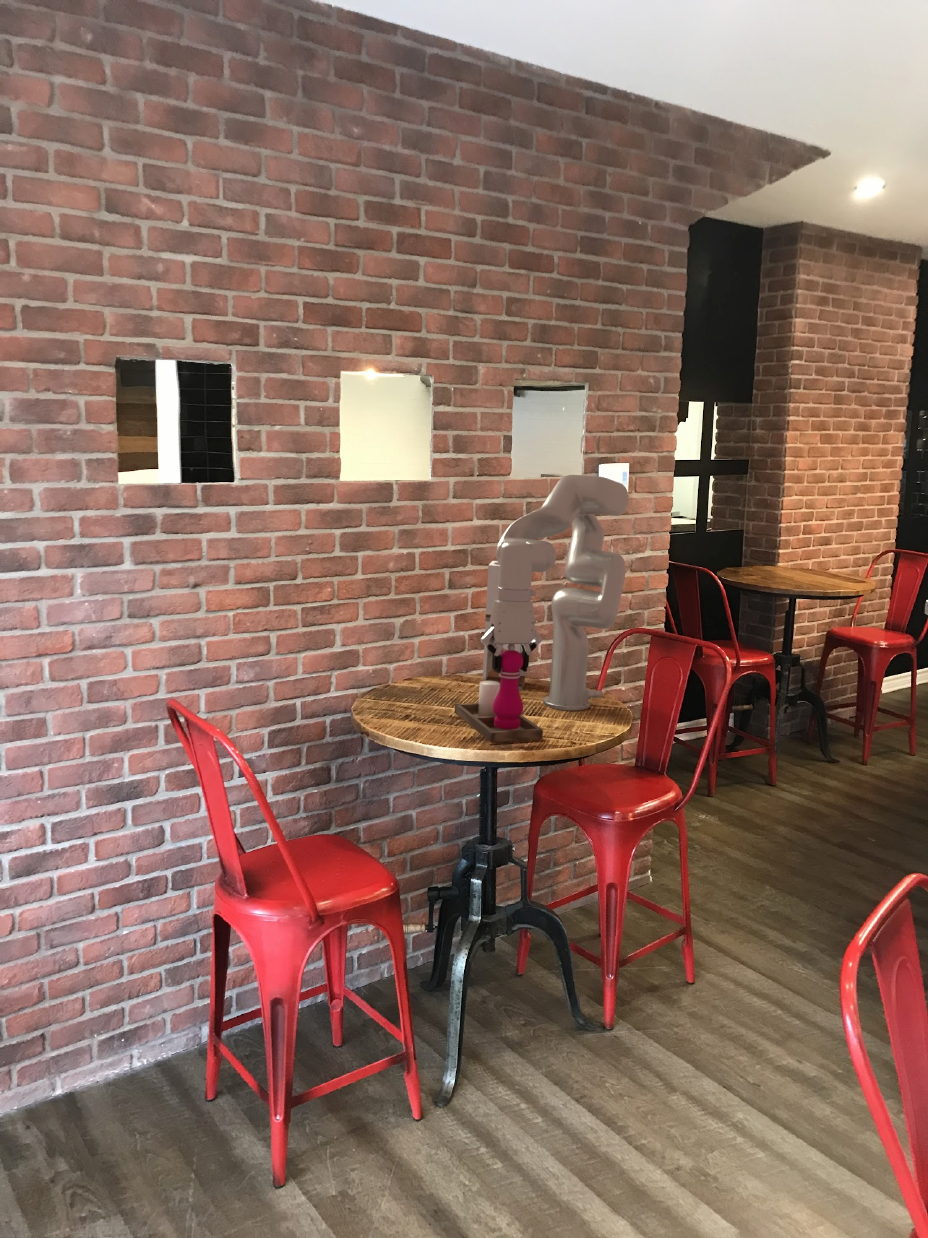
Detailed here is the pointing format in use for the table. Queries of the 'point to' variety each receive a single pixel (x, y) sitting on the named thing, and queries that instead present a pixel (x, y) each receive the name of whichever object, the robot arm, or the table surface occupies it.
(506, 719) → the pepper mill
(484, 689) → the salt shaker
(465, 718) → the walnut cruet tray
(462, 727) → the table surface
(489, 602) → the spiral ramp tower
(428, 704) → the table surface
